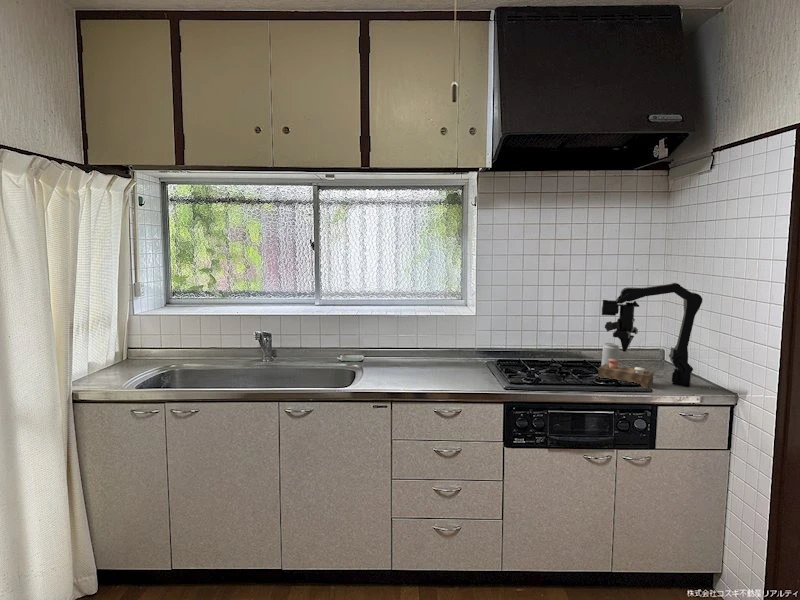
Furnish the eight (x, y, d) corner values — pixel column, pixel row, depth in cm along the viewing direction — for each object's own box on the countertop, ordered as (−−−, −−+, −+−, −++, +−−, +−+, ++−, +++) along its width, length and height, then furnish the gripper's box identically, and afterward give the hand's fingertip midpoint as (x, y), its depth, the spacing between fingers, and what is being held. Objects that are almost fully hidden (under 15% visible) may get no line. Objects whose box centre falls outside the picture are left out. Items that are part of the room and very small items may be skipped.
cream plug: (645, 382, 221) (646, 368, 220) (642, 384, 217) (644, 370, 217) (634, 380, 223) (635, 366, 222) (632, 382, 220) (633, 368, 219)
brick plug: (618, 373, 227) (619, 359, 226) (616, 374, 224) (617, 361, 223) (608, 371, 230) (609, 358, 229) (606, 373, 226) (607, 359, 226)
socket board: (652, 383, 221) (653, 371, 221) (647, 387, 214) (648, 375, 213) (604, 374, 234) (605, 363, 233) (597, 378, 226) (598, 367, 225)
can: (615, 371, 241) (617, 345, 240) (599, 368, 246) (601, 343, 245) (619, 368, 247) (621, 343, 246) (603, 365, 252) (605, 341, 251)
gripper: (612, 312, 238) (610, 346, 239) (601, 316, 223) (599, 352, 224) (638, 315, 231) (636, 349, 233) (629, 319, 216) (626, 355, 218)
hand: (624, 351), depth 227 cm, fingers closed
